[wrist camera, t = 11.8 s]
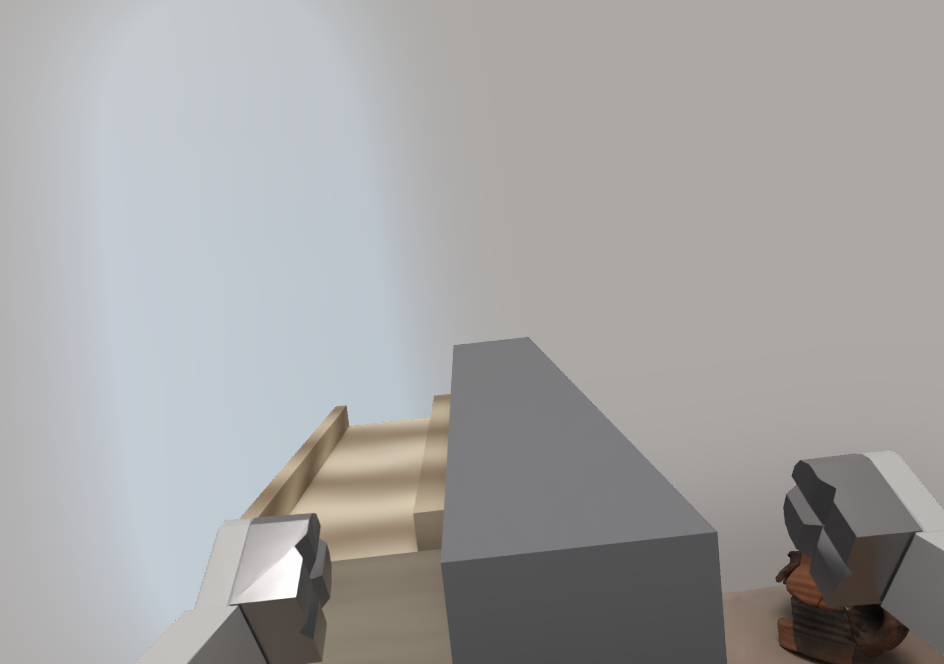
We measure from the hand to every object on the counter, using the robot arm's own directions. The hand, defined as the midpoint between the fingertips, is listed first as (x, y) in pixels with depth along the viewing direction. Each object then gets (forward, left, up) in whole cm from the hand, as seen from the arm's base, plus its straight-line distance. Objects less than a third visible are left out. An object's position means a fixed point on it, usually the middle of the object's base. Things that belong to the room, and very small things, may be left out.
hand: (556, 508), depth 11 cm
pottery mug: (-47, -15, -30) cm, 58 cm away
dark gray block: (-7, -9, -4) cm, 12 cm away
